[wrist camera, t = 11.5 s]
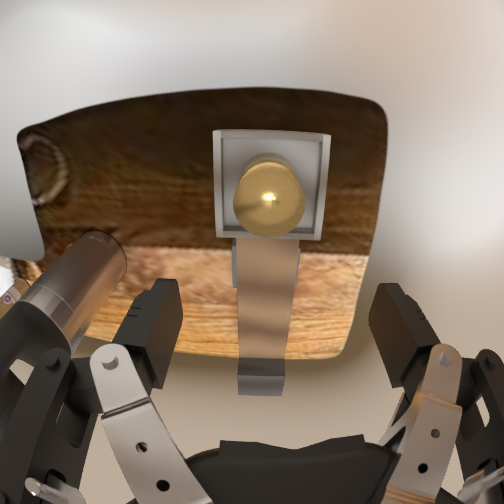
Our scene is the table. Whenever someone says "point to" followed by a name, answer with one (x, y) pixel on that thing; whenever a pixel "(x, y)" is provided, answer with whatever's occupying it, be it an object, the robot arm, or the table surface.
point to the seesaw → (267, 247)
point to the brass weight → (269, 196)
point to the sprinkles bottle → (12, 295)
